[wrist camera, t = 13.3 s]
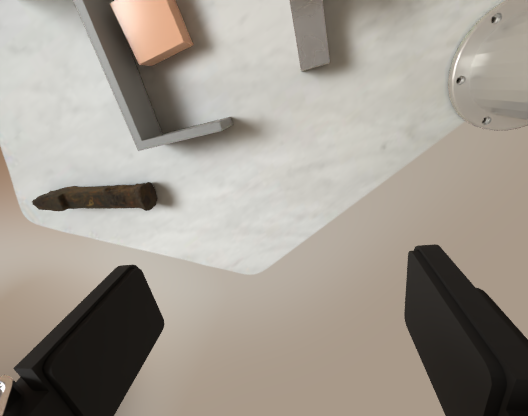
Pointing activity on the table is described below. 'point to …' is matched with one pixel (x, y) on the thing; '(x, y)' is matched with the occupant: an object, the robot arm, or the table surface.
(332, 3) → the table surface
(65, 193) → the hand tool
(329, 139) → the table surface
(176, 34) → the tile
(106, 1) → the box
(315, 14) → the scraper
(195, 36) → the table surface
